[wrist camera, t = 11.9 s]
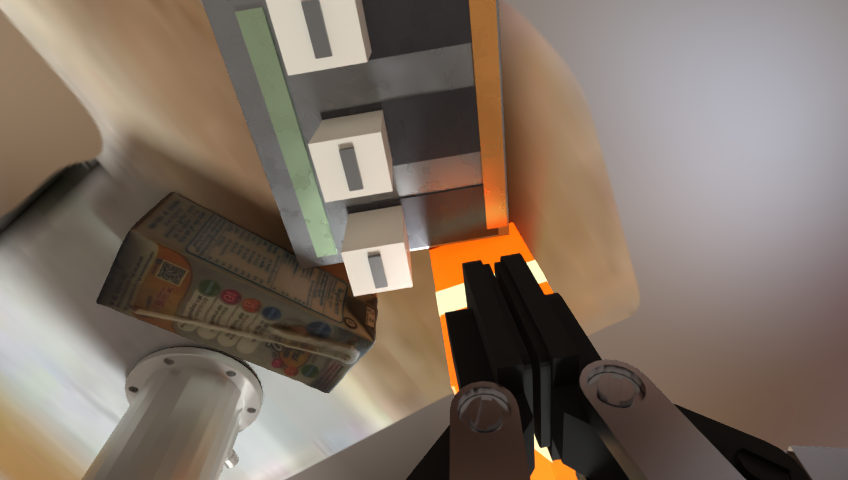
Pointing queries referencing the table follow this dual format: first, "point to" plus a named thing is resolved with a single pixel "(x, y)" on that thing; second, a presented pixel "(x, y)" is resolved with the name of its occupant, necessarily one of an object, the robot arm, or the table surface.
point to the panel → (403, 113)
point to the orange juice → (450, 294)
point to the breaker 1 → (320, 33)
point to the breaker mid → (352, 156)
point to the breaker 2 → (377, 251)
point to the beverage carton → (239, 295)
